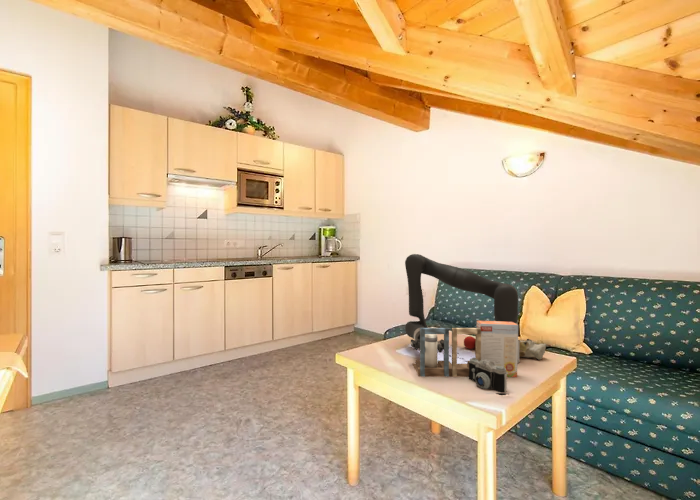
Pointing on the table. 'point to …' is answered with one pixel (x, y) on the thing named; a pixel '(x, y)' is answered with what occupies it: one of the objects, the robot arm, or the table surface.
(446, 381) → the table surface
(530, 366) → the table surface
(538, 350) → the ceramic sculpture
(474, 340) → the kendama
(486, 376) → the camera
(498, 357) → the cracker box
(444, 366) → the wooden rack
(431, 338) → the white cylinder
